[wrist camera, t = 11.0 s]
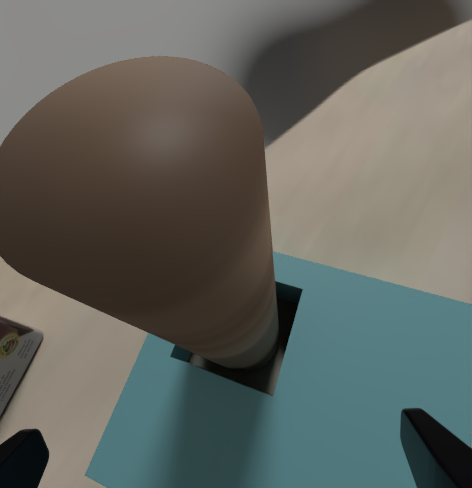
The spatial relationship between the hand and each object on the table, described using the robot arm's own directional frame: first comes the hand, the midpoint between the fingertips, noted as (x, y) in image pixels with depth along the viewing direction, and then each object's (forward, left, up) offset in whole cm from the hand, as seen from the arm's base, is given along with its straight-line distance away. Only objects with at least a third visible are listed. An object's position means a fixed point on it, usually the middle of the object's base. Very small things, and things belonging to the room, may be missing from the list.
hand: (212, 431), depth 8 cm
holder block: (+2, -1, -9) cm, 10 cm away
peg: (+4, +2, -9) cm, 10 cm away
